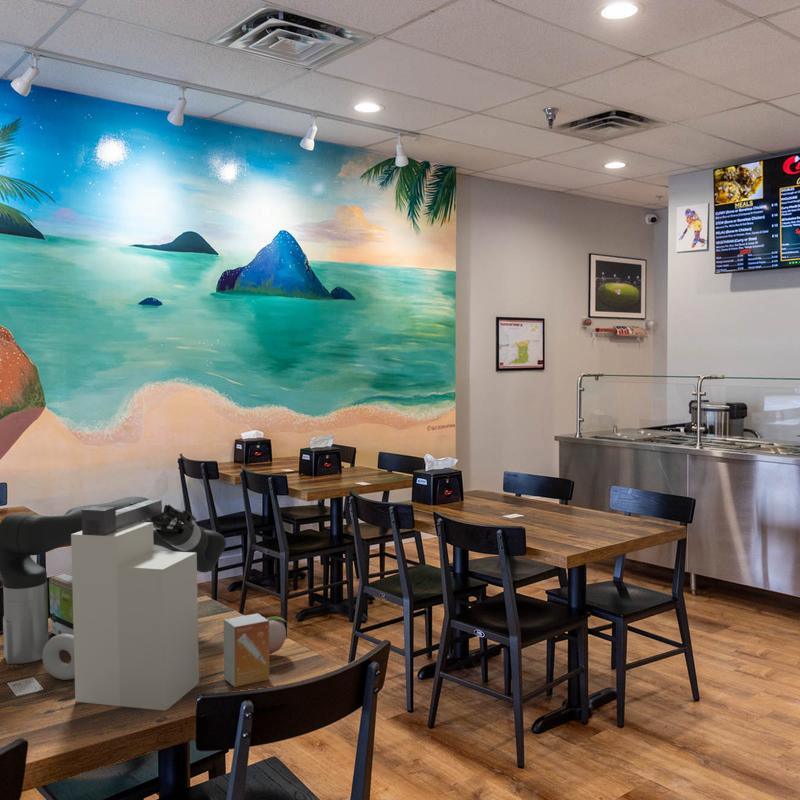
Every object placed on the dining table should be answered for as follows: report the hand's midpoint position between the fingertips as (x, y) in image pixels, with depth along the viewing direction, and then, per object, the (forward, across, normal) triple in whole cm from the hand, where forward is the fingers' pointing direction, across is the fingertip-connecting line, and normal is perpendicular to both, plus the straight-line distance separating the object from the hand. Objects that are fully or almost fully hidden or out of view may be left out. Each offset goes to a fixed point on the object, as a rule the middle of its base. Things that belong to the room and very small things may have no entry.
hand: (147, 507), depth 182 cm
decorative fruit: (-28, -23, -26) cm, 44 cm away
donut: (-9, +14, -36) cm, 40 cm away
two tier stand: (-6, -5, -38) cm, 39 cm away
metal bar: (+6, 0, -6) cm, 8 cm away
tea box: (-32, +28, -24) cm, 48 cm away
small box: (-16, -24, -32) cm, 43 cm away
